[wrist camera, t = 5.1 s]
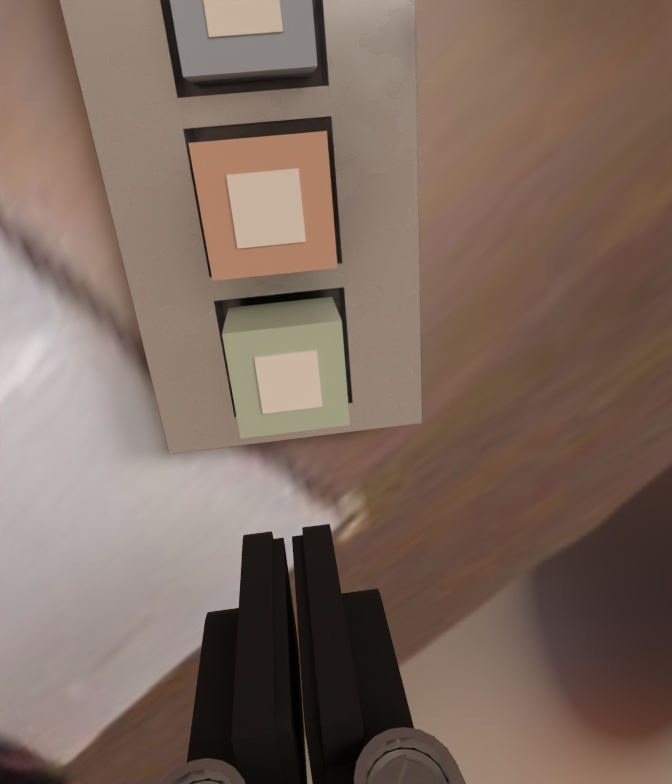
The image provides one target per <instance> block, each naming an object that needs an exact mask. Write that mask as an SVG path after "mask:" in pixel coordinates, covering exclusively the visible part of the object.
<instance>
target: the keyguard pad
mask: <svg viewBox="0 0 672 784" xmlns="http://www.w3.org/2000/svg"><path fill="white" fill-rule="evenodd" d="M60 4H61V8H62V12H63V16H64V20H65V24H66V29H67V33H68V37H69V41H70V45H71V49H72V53H73V57H74V62H75V66H76V70H77V74H78V78H79V82H80V86H81V90H82V95H83V99H84V103H85V107H86V111H87V115H88V119H89V123H90V128H91V132H92V136H93V140H94V144H95V148H96V152H97V156H98V160H99V165H100V169H101V173H102V177H103V181H104V185H105V189H106V193H107V198H108V202H109V206H110V210H111V214H112V218H113V222H114V226H115V231H116V235H117V239H118V243H119V247H120V251H121V255H122V259H123V264H124V268H125V272H126V276H127V280H128V284H129V288H130V292H131V297H132V301H133V305H134V309H135V313H136V317H137V321H138V325H139V330H140V334H141V338H142V342H143V346H144V350H145V354H146V358H147V363H148V367H149V371H150V375H151V379H152V383H153V387H154V391H155V396H156V400H157V404H158V408H159V412H160V416H161V420H162V424H163V429H164V433H165V437H166V441H167V445H168V449H169V453H170V454H174V453H182V452H190V451H198V450H206V449H215V448H223V447H231V446H239V445H247V444H255V443H263V442H271V441H279V440H287V439H295V438H304V437H312V436H320V435H328V434H336V433H344V432H352V431H360V430H368V429H376V428H385V427H393V426H401V425H409V424H417V423H422V415H421V349H420V283H419V217H418V151H417V85H416V20H415V0H312V5H313V17H314V30H315V42H316V54H317V68H316V69H315V71H314V72H313V74H312V75H311V77H301V78H289V79H277V80H264V81H252V82H240V83H227V84H215V85H202V86H195V85H194V84H192V83H191V82H189V81H188V80H187V79H185V78H184V77H183V74H182V68H181V62H180V57H179V51H178V45H177V39H176V33H175V28H174V22H173V16H172V10H171V4H170V0H60ZM321 131H327V139H328V152H329V165H330V178H331V190H332V203H333V216H334V229H335V241H336V254H337V267H338V268H332V269H323V270H313V271H303V272H294V273H284V274H275V275H265V276H255V277H246V278H236V279H226V280H217V281H213V280H212V274H211V268H210V263H209V257H208V251H207V246H206V240H205V234H204V229H203V223H202V217H201V212H200V206H199V200H198V195H197V189H196V183H195V178H194V172H193V166H192V161H191V155H190V149H189V144H188V143H195V142H206V141H218V140H229V139H241V138H252V137H263V136H275V135H286V134H298V133H309V132H321ZM326 297H333V300H334V303H335V305H336V308H337V310H338V313H339V315H340V318H341V320H342V331H343V344H344V357H345V369H346V382H347V395H348V408H349V421H350V425H348V426H339V427H331V428H323V429H315V430H307V431H299V432H291V433H282V434H274V435H266V436H258V437H250V438H242V439H240V433H239V427H238V422H237V416H236V410H235V405H234V399H233V393H232V388H231V382H230V376H229V371H228V365H227V359H226V354H225V348H224V342H223V337H222V332H223V328H224V324H225V320H226V316H227V312H228V308H232V307H242V306H251V305H260V304H270V303H279V302H288V301H298V300H307V299H316V298H326Z"/></svg>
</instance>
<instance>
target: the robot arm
mask: <svg viewBox="0 0 672 784" xmlns="http://www.w3.org/2000/svg"><path fill="white" fill-rule="evenodd" d="M302 529H303V535H301V536H293V537H292V543H293V558H294V573H295V588H296V603H297V619H298V634H299V649H300V663H299V650H298V640H297V632H296V625H295V617H294V610H293V603H292V595H291V588H290V581H289V573H288V566H287V559H286V551H285V544H284V538H278V539H273V534H272V532H265V533H257V534H249V535H244V536H243V546H242V563H241V580H240V597H239V608H235V609H228V610H221V611H214V612H208V613H207V615H206V620H205V625H204V633H203V641H202V649H201V657H200V664H199V672H198V680H197V688H196V696H195V703H194V711H193V719H192V727H191V735H190V742H189V750H188V758H187V763H186V764H184V765H182V766H180V767H178V768H176V769H174V770H173V771H172V772H171V773H170V774H168V775H167V776H166V777H165V778H163V779H162V780H161V781H160V783H159V784H307V773H306V758H305V741H304V726H303V710H302V695H303V709H304V721H305V731H306V739H307V746H308V753H309V760H310V768H311V775H312V782H313V784H466V783H465V780H464V778H463V776H462V774H461V772H460V770H459V768H458V765H457V763H456V761H455V760H454V758H453V757H452V755H451V754H450V752H449V750H448V749H447V747H445V746H444V745H443V744H442V743H441V742H440V741H439V740H437V739H436V738H435V737H434V736H432V735H430V734H428V733H425V732H424V731H422V730H419V729H414V726H413V722H412V719H411V714H410V711H409V707H408V703H407V699H406V695H405V691H404V687H403V683H402V679H401V675H400V671H399V667H398V663H397V659H396V655H395V651H394V647H393V643H392V639H391V635H390V631H389V627H388V623H387V620H386V616H385V612H384V608H383V604H382V600H381V596H380V593H379V590H378V589H372V590H365V591H358V592H350V593H343V594H341V588H340V582H339V576H338V570H337V564H336V558H335V552H334V546H333V540H332V534H331V528H330V524H326V525H319V526H311V527H303V528H302ZM300 664H301V679H302V695H301V679H300Z"/></svg>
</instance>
